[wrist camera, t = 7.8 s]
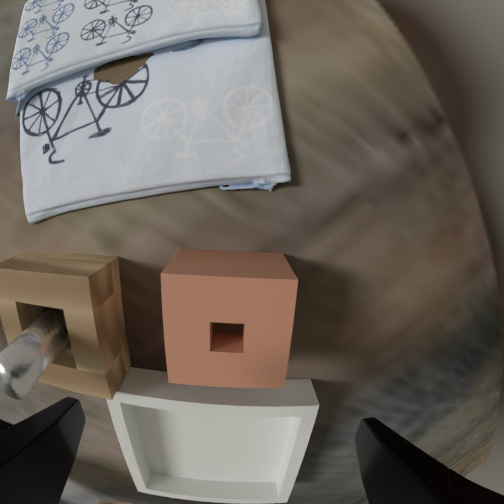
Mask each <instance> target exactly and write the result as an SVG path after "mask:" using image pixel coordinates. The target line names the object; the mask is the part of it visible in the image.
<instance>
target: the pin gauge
mask: <svg viewBox="0 0 504 504" xmlns="http://www.w3.org/2000/svg"><path fill="white" fill-rule="evenodd" d="M69 341H70V340H69V335H68V331H67V326H66V321H65V316H64V311H63V309H58V308H52V307H51V308H50V309H49V310H48V311H46V312H45V313H44V314H43V315H42V316H40V317H39V318H38V319H37V320H36V321H35V322H33V323H32V324H31V325H30V326H29V327H28V328H27V329H25V330H24V331H23V332H22V333H21V334H20V335H19V336H18V337H17V338H15V339H14V340H13V341H12V342H11V343H10V344H9V345H8V346H7V347H6V348H5V349H3V350H2V351H1V352H0V388H1V389H2V390H3V391H4V392H5V393H6V394H7V395H9V396H10V397H12V398H14V399H19V400H20V399H23V398H24V397H25V395H26V394H27V393H28V391H29V390H30V389H31V387H32V386H33V385H34V384H35V382H36V381H37V380H38V379H39V377H40V376H41V375H42V374H43V372H44V371H45V370H46V369H47V367H48V366H49V365H50V364H51V362H52V361H53V360H54V359H55V358H56V356H57V355H58V354H59V353H60V352H61V350H62V349H63V348H64V347H65V346H66V345H67V343H68V342H69Z"/></svg>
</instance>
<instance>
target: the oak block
mask: <svg viewBox="0 0 504 504" xmlns="http://www.w3.org/2000/svg"><path fill="white" fill-rule="evenodd" d="M51 307H52V308H58V309H63V311H64V316H65V321H66V326H67V331H68V335H69V340H70V341H69V342H68V343H67V345H66V346H65V347H64V348H63V349H62V350H61V352H60V353H59V354H58V355H57V356H56V358H55V359H54V360H53V361H52V362H51V364H50V365H49V366H48V367H47V369H46V370H45V371H44V372H43V374H42V375H41V376H40V377H39V379H38V380H37V381H38V382H41V383H44V384H48V385H51V386H54V387H58V388H62V389H65V390H69V391H73V392H77V393H81V394H86V395H90V396H95V397H99V398H104V399H109V400H112V399H113V397H114V396H115V394H116V392H117V390H118V388H119V386H120V384H121V382H122V380H123V378H124V377H125V375H126V373H127V371H128V369H129V367H130V365H131V360H130V355H129V349H128V342H127V336H126V329H125V321H124V313H123V305H122V295H121V285H120V273H119V259H118V256H101V255H80V254H60V253H41V252H25V253H22V254H20V255H17V256H15V257H13V258H10V259H8V260H6V261H3V262H1V263H0V317H1V321H2V325H3V328H4V332H5V335H6V339H7V342H8V345H9V344H10V343H11V342H12V341H13V340H14V339H15V338H17V337H18V336H19V335H20V334H21V333H22V332H23V331H24V330H25V329H27V328H28V327H29V326H30V325H31V324H32V323H33V322H35V321H36V320H37V319H38V318H39V317H40V316H42V315H43V314H44V313H45V312H46V311H48V310H49V309H50V308H51Z"/></svg>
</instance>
